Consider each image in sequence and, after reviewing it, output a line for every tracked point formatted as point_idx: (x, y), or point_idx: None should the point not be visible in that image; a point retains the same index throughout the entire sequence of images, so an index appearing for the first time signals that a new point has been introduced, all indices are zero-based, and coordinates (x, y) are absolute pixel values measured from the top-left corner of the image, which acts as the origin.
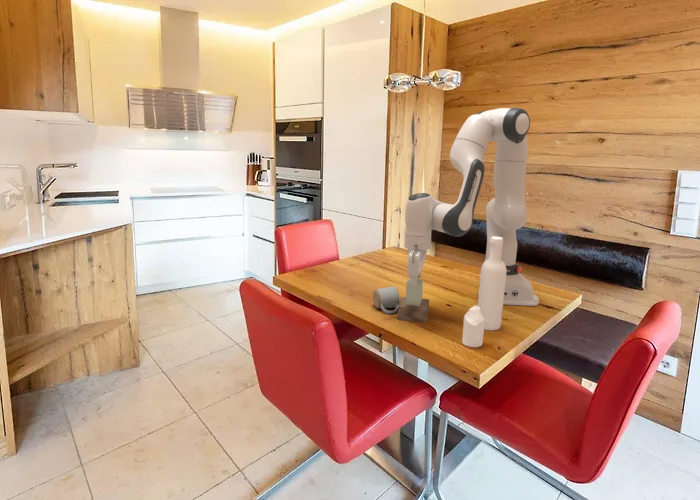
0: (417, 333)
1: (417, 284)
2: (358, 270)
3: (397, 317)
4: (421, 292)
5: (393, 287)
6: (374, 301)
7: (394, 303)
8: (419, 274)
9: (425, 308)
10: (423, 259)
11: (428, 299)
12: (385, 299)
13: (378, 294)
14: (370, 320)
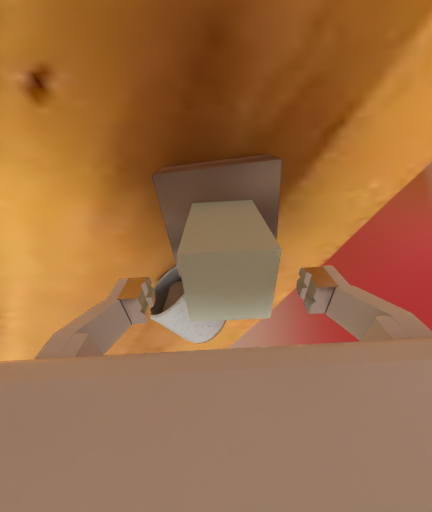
0: (360, 169)
1: (275, 265)
2: None
3: None
4: (224, 220)
5: (172, 317)
6: None
7: None
8: (142, 296)
9: (270, 172)
10: (38, 467)
11: (154, 178)
12: None
13: (221, 329)
14: (284, 292)
